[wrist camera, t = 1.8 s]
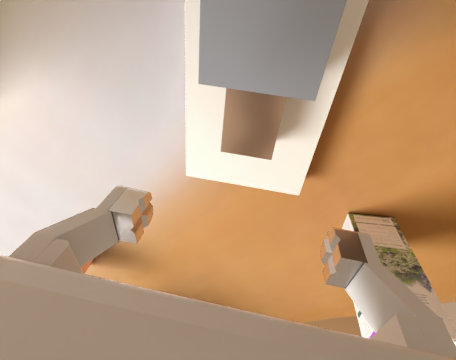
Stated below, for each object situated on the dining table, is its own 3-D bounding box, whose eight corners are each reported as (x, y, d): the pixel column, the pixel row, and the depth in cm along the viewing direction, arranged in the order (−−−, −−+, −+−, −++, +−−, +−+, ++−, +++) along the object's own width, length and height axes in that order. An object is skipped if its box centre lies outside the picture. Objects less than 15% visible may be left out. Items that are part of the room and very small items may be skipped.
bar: (226, 134, 24) (220, 151, 21) (249, -84, 15) (243, -102, 12) (272, 141, 24) (271, 160, 21) (322, -77, 15) (332, -94, 12)
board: (193, 161, 31) (170, 205, 24) (196, -143, 16) (142, -240, 10) (297, 179, 30) (302, 230, 23) (399, -126, 15) (492, -222, 9)
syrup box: (336, 241, 35) (365, 360, 23) (347, 210, 31) (388, 333, 20) (379, 245, 34) (432, 372, 22) (395, 214, 30) (468, 346, 19)
